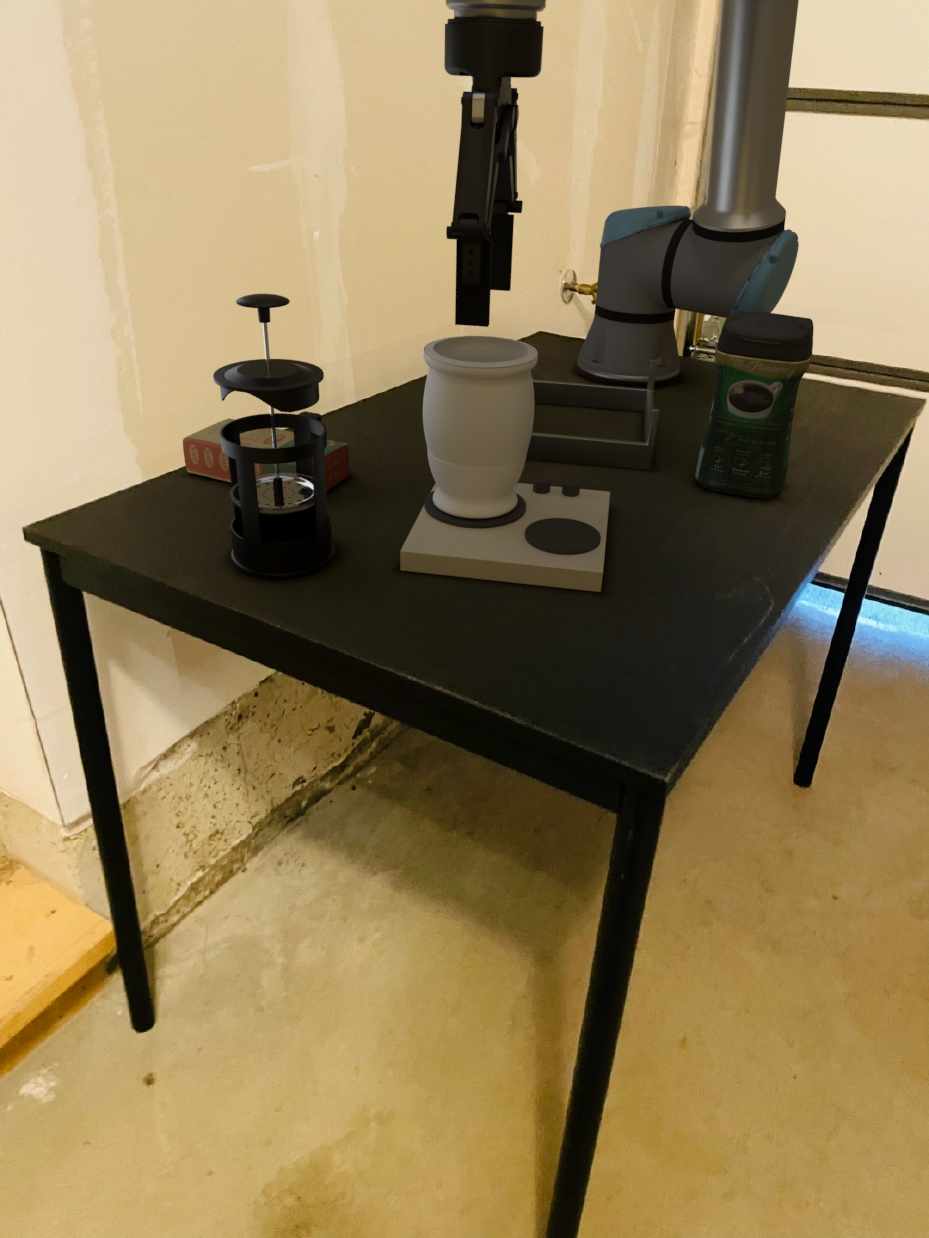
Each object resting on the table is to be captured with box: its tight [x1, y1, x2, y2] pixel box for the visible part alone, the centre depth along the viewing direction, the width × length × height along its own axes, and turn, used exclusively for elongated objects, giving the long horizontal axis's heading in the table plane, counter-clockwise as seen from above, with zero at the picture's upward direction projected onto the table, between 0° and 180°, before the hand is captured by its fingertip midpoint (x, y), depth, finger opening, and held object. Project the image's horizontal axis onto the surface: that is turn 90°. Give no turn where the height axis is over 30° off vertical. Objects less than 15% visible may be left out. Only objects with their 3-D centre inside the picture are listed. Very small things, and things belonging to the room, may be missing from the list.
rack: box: [526, 359, 660, 471], centre depth 113 cm, size 22×19×7 cm
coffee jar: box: [694, 310, 814, 499], centre depth 97 cm, size 10×8×19 cm
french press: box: [212, 293, 336, 580], centre depth 78 cm, size 12×9×23 cm
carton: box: [182, 418, 350, 492], centre depth 99 cm, size 8×16×4 cm, turn 65°
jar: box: [422, 335, 539, 519], centre depth 86 cm, size 11×10×15 cm
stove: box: [399, 476, 611, 593], centre depth 88 cm, size 18×18×3 cm
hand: (484, 306), depth 80 cm, fingers open, 13 cm apart
